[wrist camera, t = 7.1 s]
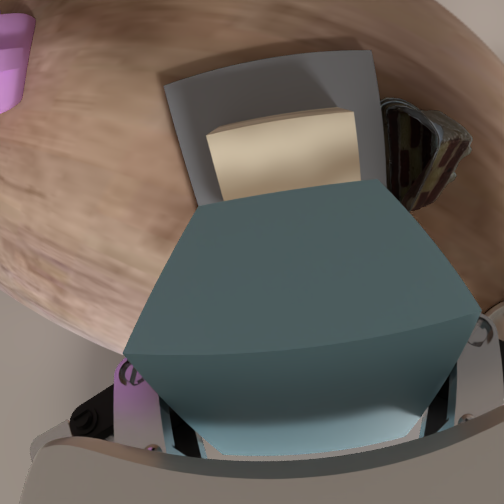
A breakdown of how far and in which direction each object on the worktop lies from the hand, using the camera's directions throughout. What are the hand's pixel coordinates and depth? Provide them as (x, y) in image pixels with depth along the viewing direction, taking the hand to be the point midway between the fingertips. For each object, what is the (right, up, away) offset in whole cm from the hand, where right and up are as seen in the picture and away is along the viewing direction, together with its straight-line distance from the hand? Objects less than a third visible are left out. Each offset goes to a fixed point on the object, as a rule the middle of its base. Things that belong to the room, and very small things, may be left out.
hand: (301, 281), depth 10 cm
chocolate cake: (+13, +9, +11) cm, 20 cm away
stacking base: (+1, +8, +13) cm, 15 cm away
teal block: (0, 0, +1) cm, 1 cm away
